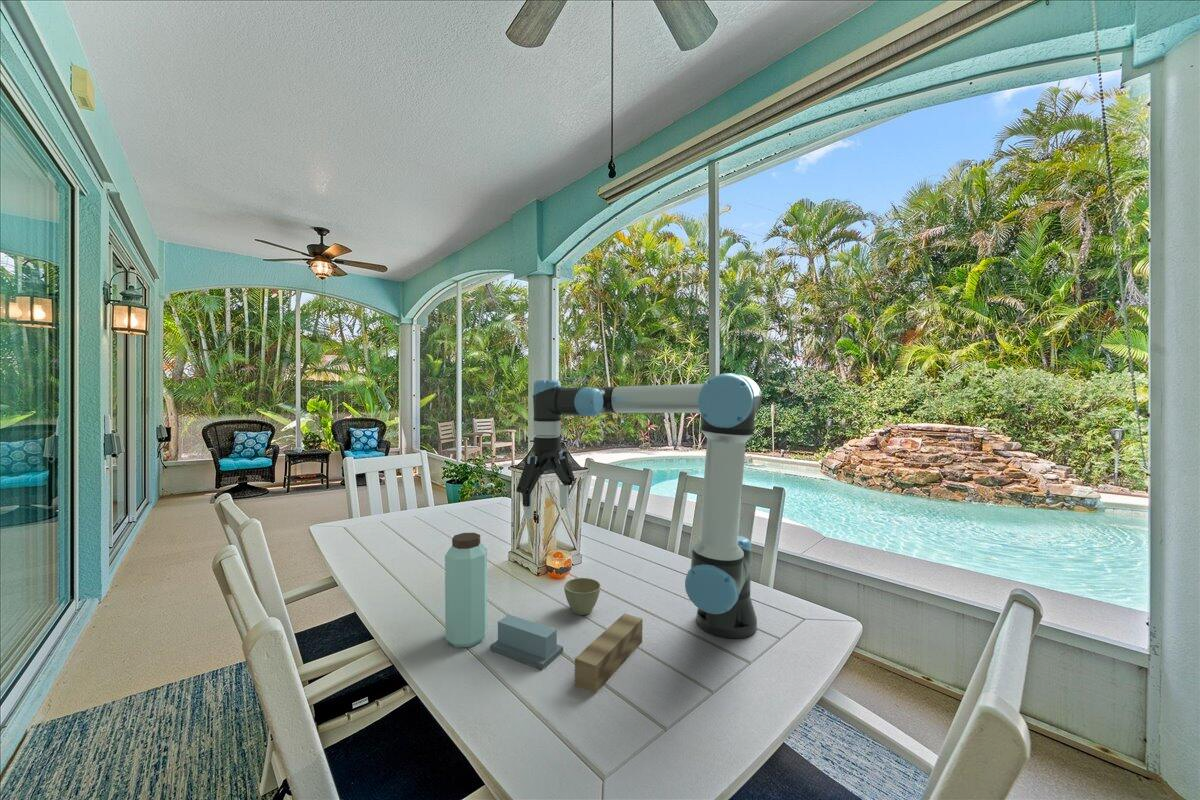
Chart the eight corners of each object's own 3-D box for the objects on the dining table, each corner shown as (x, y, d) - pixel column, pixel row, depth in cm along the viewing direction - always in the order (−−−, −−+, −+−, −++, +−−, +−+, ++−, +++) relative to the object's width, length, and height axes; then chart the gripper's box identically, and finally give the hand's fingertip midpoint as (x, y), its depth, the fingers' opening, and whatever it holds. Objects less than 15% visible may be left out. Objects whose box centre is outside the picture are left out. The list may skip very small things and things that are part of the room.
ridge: (563, 651, 110) (563, 626, 109) (542, 669, 103) (542, 642, 102) (512, 634, 117) (512, 610, 117) (490, 650, 110) (490, 624, 110)
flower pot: (596, 621, 123) (596, 594, 123) (559, 617, 125) (559, 591, 125) (603, 604, 133) (603, 579, 133) (569, 600, 135) (569, 576, 135)
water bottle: (449, 654, 108) (448, 546, 107) (441, 633, 117) (441, 533, 116) (492, 643, 113) (492, 539, 112) (482, 624, 122) (482, 528, 121)
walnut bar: (623, 637, 117) (624, 613, 116) (642, 643, 114) (642, 618, 114) (574, 686, 98) (574, 658, 97) (595, 695, 95) (595, 665, 95)
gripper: (568, 431, 142) (568, 501, 143) (502, 439, 123) (502, 520, 123) (587, 433, 137) (586, 505, 138) (522, 441, 118) (522, 525, 119)
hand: (547, 512), depth 131 cm, fingers open, 13 cm apart
